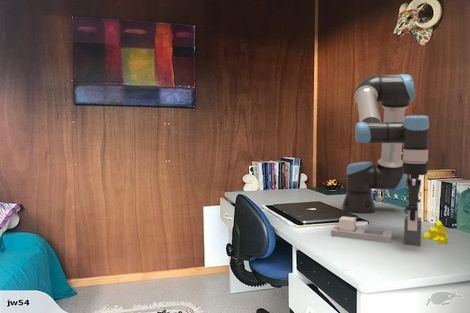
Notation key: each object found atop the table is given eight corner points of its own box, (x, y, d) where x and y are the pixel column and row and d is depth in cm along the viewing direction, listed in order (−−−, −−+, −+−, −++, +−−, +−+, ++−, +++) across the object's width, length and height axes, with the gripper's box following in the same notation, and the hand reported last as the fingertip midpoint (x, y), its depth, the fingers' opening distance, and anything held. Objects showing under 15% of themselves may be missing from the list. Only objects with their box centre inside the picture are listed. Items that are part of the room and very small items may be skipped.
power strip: (335, 233, 145) (335, 224, 145) (392, 240, 136) (392, 230, 136) (331, 239, 138) (331, 229, 138) (390, 246, 129) (391, 236, 129)
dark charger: (404, 241, 132) (405, 216, 132) (420, 243, 130) (421, 217, 130) (403, 245, 128) (404, 219, 127) (420, 247, 126) (421, 220, 125)
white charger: (341, 232, 143) (342, 216, 142) (355, 233, 141) (355, 217, 140) (339, 235, 138) (339, 219, 138) (353, 237, 136) (353, 220, 136)
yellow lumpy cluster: (419, 239, 138) (420, 218, 137) (442, 239, 138) (443, 218, 137) (427, 244, 132) (428, 222, 132) (451, 244, 132) (452, 222, 131)
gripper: (404, 159, 140) (402, 216, 141) (400, 165, 118) (398, 233, 119) (427, 159, 136) (425, 218, 138) (427, 166, 114) (425, 236, 116)
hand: (412, 225), depth 129 cm, fingers open, 13 cm apart
